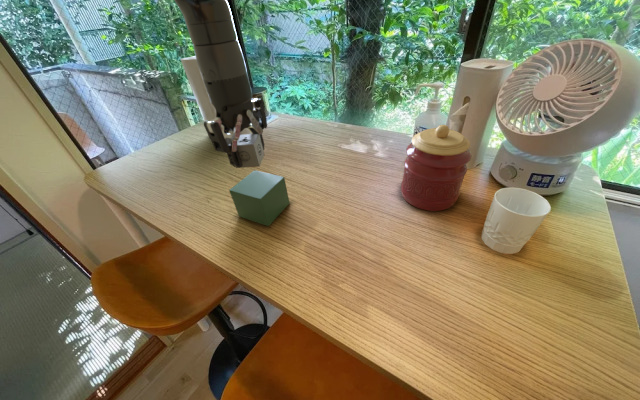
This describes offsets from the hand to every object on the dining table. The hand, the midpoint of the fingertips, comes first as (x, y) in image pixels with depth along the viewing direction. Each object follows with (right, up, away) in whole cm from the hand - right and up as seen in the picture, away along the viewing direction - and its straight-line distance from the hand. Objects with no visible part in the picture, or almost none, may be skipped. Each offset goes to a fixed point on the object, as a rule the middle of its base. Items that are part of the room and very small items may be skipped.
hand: (249, 158), depth 54 cm
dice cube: (0, -1, +1) cm, 1 cm away
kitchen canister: (+41, -8, +8) cm, 43 cm away
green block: (+1, -11, +9) cm, 15 cm away
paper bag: (-18, +19, +50) cm, 57 cm away
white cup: (+50, -17, -5) cm, 53 cm away
